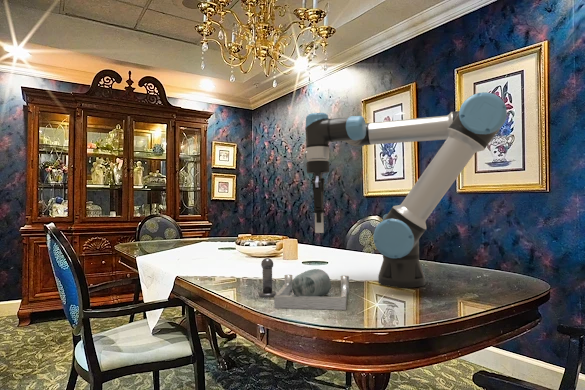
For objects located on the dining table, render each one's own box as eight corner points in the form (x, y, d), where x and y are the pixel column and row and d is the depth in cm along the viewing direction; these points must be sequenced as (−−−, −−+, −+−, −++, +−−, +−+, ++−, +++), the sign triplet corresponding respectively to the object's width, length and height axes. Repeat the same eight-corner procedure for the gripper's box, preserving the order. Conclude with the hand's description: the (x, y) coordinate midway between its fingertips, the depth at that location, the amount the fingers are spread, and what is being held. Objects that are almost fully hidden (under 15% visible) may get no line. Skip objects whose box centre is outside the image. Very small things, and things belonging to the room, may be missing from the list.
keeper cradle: (349, 292, 120) (348, 275, 120) (348, 310, 100) (347, 290, 100) (285, 290, 123) (285, 274, 123) (272, 307, 103) (271, 288, 103)
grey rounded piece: (315, 295, 103) (306, 259, 108) (288, 307, 107) (280, 272, 112) (343, 298, 113) (333, 265, 118) (317, 309, 117) (309, 277, 122)
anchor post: (277, 293, 119) (277, 257, 119) (274, 297, 114) (273, 259, 114) (261, 293, 120) (261, 256, 120) (257, 297, 115) (257, 259, 115)
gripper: (308, 163, 137) (310, 231, 137) (304, 159, 124) (305, 234, 124) (330, 162, 136) (331, 231, 136) (328, 158, 123) (329, 234, 123)
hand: (319, 232), depth 130 cm, fingers closed
